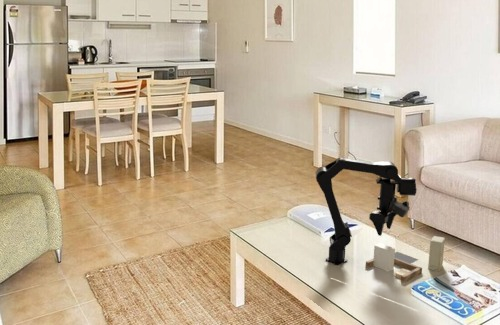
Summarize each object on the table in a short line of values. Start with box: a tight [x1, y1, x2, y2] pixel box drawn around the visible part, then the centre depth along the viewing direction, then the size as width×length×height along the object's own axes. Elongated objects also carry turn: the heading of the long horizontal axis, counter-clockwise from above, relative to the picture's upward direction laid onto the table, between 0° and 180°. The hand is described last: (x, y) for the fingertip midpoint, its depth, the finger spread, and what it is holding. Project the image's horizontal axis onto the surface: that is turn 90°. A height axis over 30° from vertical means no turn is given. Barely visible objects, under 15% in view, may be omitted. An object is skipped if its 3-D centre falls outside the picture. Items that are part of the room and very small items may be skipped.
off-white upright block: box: [372, 242, 396, 273], centre depth 198 cm, size 4×7×9 cm, turn 40°
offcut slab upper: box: [394, 267, 411, 279], centre depth 193 cm, size 6×4×1 cm, turn 137°
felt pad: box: [394, 251, 419, 264], centre depth 208 cm, size 8×10×1 cm
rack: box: [365, 257, 423, 283], centre depth 197 cm, size 12×17×2 cm
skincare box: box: [427, 235, 446, 272], centre depth 199 cm, size 6×4×12 cm
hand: (384, 232), depth 201 cm, fingers open, 9 cm apart
